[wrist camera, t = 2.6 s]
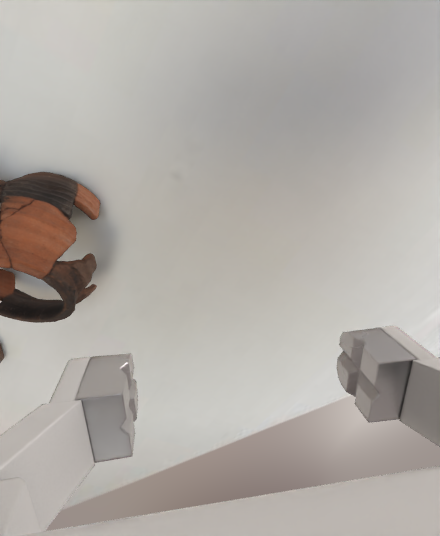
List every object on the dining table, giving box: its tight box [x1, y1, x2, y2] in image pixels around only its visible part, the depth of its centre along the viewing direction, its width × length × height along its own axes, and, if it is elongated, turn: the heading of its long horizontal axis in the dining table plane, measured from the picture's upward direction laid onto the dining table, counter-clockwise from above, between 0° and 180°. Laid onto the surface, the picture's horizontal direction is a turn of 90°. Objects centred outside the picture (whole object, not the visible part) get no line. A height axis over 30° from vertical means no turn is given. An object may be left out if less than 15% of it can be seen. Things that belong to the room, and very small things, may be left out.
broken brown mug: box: [0, 172, 100, 322], centre depth 23 cm, size 12×10×8 cm
